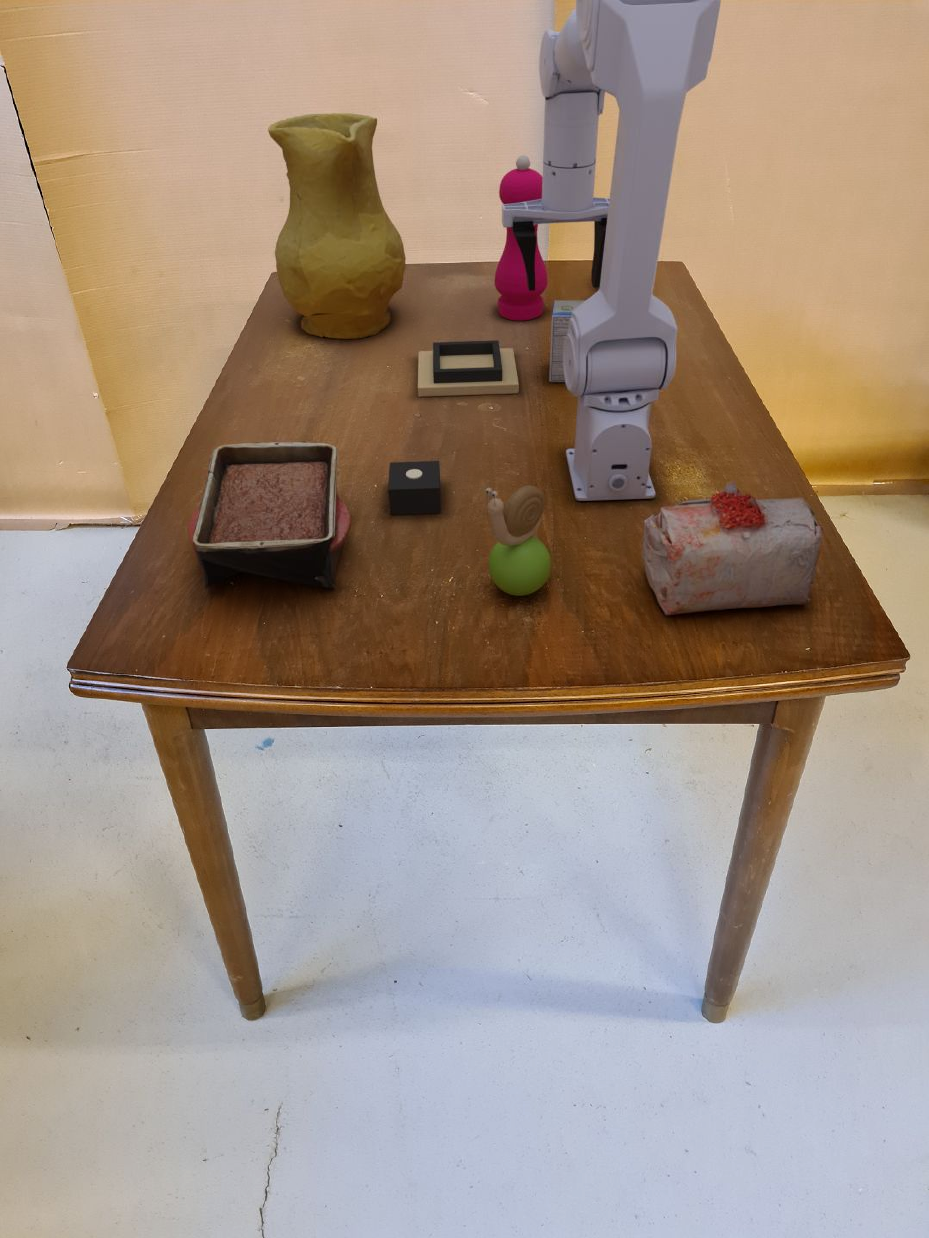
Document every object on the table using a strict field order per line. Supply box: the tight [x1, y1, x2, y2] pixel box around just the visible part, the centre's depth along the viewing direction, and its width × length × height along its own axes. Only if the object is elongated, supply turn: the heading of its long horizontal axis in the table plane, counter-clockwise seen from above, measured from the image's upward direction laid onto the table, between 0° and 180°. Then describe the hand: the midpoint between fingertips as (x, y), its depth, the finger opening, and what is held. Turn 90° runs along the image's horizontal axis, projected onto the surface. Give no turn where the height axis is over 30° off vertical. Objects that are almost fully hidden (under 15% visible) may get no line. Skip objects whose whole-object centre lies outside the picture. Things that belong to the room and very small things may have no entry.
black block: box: [387, 460, 442, 516], centre depth 91 cm, size 5×5×3 cm
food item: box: [641, 480, 824, 616], centre depth 76 cm, size 14×8×10 cm, turn 95°
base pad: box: [417, 339, 520, 398], centre depth 111 cm, size 10×12×3 cm
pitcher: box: [267, 112, 407, 340], centre depth 118 cm, size 17×19×25 cm
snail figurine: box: [485, 485, 552, 597], centre depth 76 cm, size 5×6×12 cm
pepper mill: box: [494, 154, 549, 321], centre depth 120 cm, size 7×7×20 cm
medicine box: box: [548, 299, 587, 383], centre depth 108 cm, size 8×4×9 cm, turn 84°
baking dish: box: [188, 441, 352, 590], centre depth 83 cm, size 14×18×10 cm
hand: (563, 286), depth 107 cm, fingers open, 7 cm apart
